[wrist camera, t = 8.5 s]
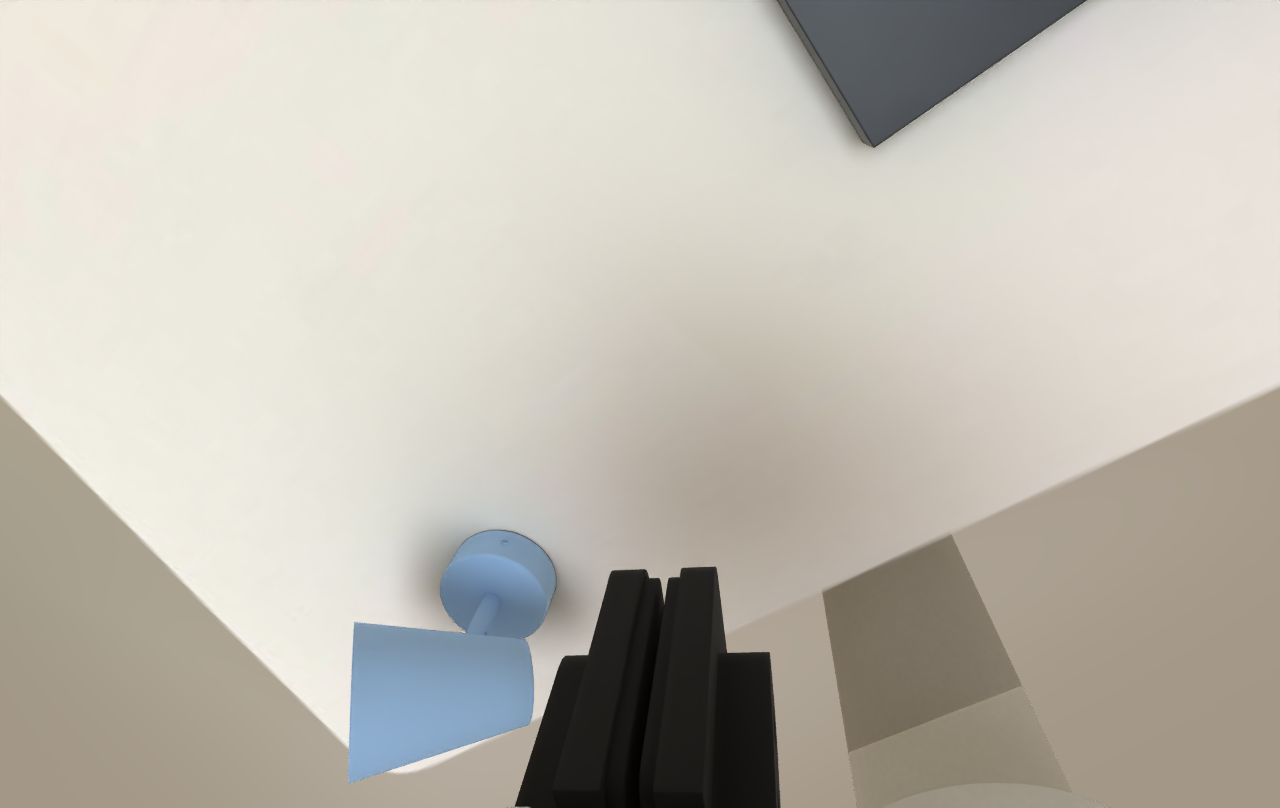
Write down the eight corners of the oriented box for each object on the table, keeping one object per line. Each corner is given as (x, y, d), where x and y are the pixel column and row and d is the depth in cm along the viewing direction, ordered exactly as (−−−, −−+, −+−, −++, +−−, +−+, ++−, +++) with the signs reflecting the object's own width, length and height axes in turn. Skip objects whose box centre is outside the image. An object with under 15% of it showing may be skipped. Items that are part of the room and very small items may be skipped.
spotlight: (414, 598, 32) (564, 634, 32) (284, 802, 23) (494, 855, 23) (420, 506, 30) (581, 544, 30) (280, 690, 21) (511, 747, 21)
